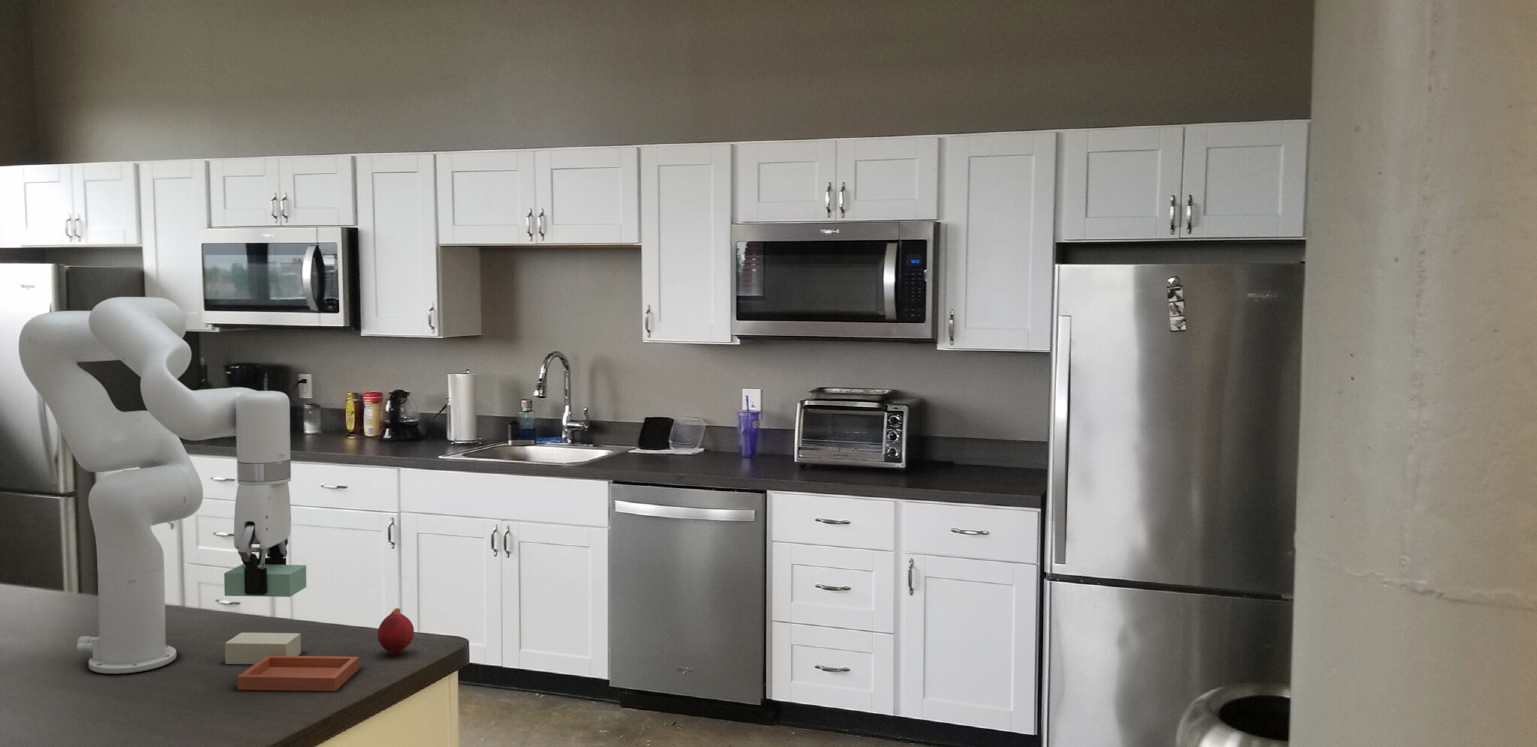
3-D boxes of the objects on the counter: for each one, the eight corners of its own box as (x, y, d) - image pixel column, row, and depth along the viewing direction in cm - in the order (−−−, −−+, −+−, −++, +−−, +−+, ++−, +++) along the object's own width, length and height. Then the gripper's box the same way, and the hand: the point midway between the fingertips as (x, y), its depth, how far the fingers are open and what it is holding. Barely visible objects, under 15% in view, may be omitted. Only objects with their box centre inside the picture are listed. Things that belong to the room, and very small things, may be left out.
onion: (402, 661, 192) (402, 613, 192) (371, 658, 193) (370, 611, 193) (420, 650, 198) (419, 604, 197) (389, 648, 199) (388, 602, 199)
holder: (237, 689, 177) (237, 676, 177) (266, 667, 188) (266, 655, 188) (335, 691, 178) (335, 677, 177) (359, 669, 188) (359, 656, 188)
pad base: (224, 595, 175) (223, 572, 175) (242, 585, 181) (242, 563, 181) (290, 596, 175) (289, 573, 174) (306, 586, 181) (306, 564, 180)
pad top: (225, 663, 190) (224, 642, 189) (241, 652, 196) (241, 632, 195) (286, 664, 190) (286, 643, 189) (300, 653, 196) (300, 633, 195)
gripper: (264, 463, 185) (266, 574, 186) (211, 480, 168) (214, 602, 169) (311, 464, 185) (313, 575, 186) (263, 481, 168) (265, 603, 169)
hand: (266, 587), depth 178 cm, fingers closed on pad base, 6 cm apart
